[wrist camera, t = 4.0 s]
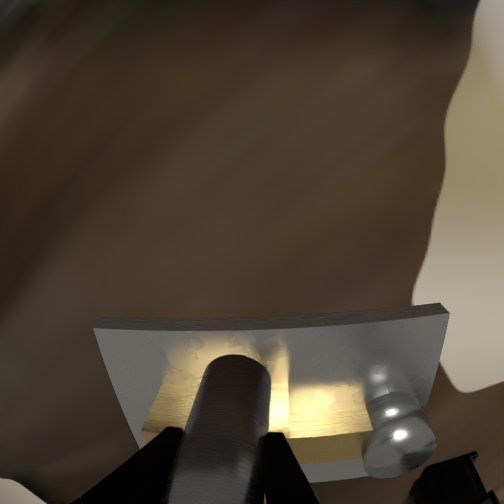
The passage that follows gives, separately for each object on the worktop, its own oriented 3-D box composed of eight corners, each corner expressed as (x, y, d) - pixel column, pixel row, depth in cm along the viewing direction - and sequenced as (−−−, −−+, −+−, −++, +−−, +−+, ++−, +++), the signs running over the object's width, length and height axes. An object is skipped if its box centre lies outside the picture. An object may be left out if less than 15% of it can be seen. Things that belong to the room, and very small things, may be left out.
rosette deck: (439, 302, 18) (485, 352, 12) (398, 457, 23) (413, 508, 17) (103, 317, 20) (57, 367, 14) (157, 464, 24) (140, 513, 19)
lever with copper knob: (277, 348, 9) (260, 635, 2) (278, 410, 10) (265, 639, 2) (192, 347, 10) (86, 596, 2) (203, 408, 10) (139, 619, 3)
